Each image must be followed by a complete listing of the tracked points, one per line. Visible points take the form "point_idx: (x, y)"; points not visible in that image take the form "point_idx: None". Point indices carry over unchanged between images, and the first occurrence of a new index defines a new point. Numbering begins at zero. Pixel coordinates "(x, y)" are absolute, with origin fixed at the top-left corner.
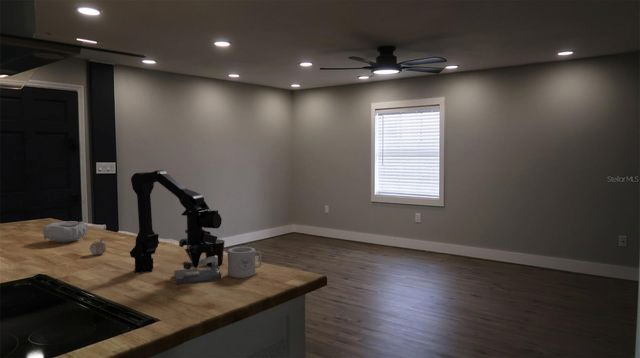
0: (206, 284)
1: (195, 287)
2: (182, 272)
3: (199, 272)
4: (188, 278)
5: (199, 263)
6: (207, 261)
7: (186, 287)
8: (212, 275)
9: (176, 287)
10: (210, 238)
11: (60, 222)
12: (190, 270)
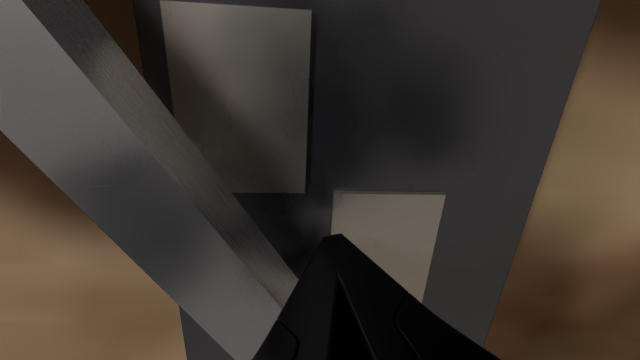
0: (608, 138)
1: (613, 230)
2: None
3: (373, 185)
4: (496, 292)
5: (225, 203)
6: (94, 37)
7: (565, 284)
8: (579, 58)
9: (518, 336)
10: None
11: None
12: None
